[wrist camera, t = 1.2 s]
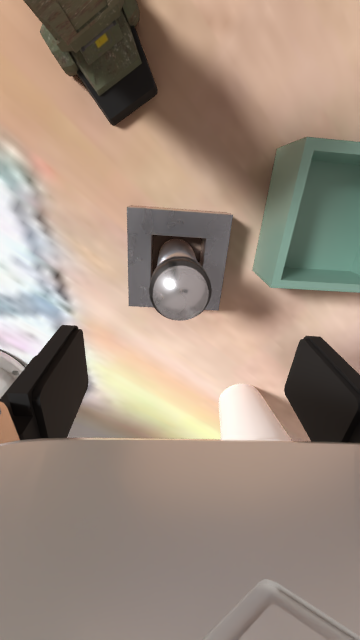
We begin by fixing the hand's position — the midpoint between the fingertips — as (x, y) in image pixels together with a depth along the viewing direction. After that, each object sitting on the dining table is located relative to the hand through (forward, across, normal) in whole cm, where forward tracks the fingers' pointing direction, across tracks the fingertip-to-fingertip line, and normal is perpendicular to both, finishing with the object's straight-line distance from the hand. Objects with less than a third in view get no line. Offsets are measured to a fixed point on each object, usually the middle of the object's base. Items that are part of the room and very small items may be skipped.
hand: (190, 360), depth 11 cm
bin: (+20, -15, -5) cm, 25 cm away
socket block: (+20, 0, 0) cm, 20 cm away
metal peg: (+20, 0, 0) cm, 20 cm away
